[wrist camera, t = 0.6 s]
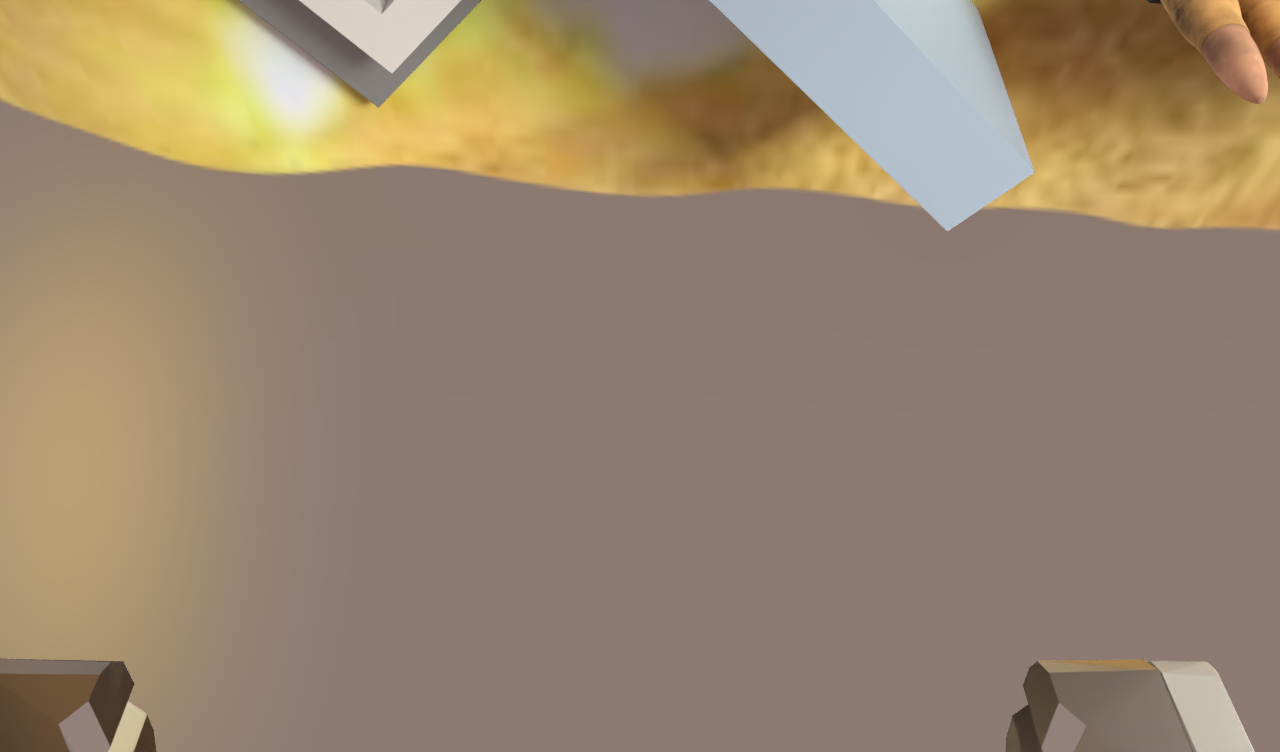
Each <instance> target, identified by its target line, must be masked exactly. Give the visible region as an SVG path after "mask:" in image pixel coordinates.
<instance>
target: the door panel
mask: <svg viewBox="0 0 1280 752" xmlns="http://www.w3.org/2000/svg"><path fill="white" fill-rule="evenodd" d="M709 1H710V2H711V3H712V4H713V5H715V6H716V7H717V8H718V9H719V10H720V11H721V12H722V13H723V14H724V15H725V16H726V17H727V18H728V19H729V20H730V21H731V22H732V23H733V24H734V25H735V26H736V27H737V28H738V29H739V30H740V31H741V32H742V33H743V34H744V35H745V36H746V37H748V38H749V39H750V40H751V41H752V42H753V43H754V44H755V45H756V46H757V47H758V48H759V49H760V50H761V51H762V52H763V53H764V54H765V55H766V56H767V57H768V58H769V59H770V60H771V61H772V62H773V63H774V64H775V65H776V66H777V67H778V68H779V69H781V70H782V71H783V72H784V73H785V74H786V75H787V76H788V77H789V78H790V79H791V80H792V81H793V82H794V83H795V84H796V85H797V86H798V87H799V88H800V89H801V90H802V91H803V92H804V93H805V94H806V95H807V96H808V97H809V98H810V99H811V100H812V101H814V102H815V103H816V104H817V105H818V106H819V107H820V108H821V109H822V110H823V111H824V112H825V113H826V114H827V115H828V116H829V117H830V118H831V119H832V120H833V121H834V122H835V123H836V124H837V125H838V126H839V127H840V128H841V129H842V130H843V131H844V132H845V133H847V134H848V135H849V136H850V137H851V138H852V139H853V140H854V141H855V142H856V143H857V144H858V145H859V146H860V147H861V148H862V149H863V150H864V151H865V152H866V153H867V154H868V155H869V156H870V157H871V158H872V159H873V160H874V161H875V162H876V163H877V164H878V165H880V166H881V167H882V168H883V169H884V170H885V171H886V172H887V173H888V174H889V175H890V176H891V177H892V178H893V179H894V180H895V181H896V182H897V183H898V184H899V185H900V186H901V187H902V188H903V189H904V190H905V191H906V192H907V193H908V194H909V195H910V196H911V197H913V198H914V199H915V200H916V201H917V202H918V203H919V204H920V205H921V206H922V207H923V208H924V209H925V210H926V211H927V212H928V213H929V214H930V215H931V216H932V217H933V218H934V219H936V221H937V222H938V223H939V224H940V225H941V226H942V227H943V228H944V229H946V230H947V231H949V230H950V229H951V228H953V227H954V226H956V225H957V224H959V223H960V222H962V221H964V220H965V219H966V218H968V217H969V216H971V215H972V214H974V213H975V212H977V211H978V210H980V209H981V208H983V207H984V206H986V205H987V204H989V203H990V202H992V201H993V200H995V199H996V198H998V197H999V196H1001V195H1002V194H1004V193H1005V192H1007V191H1008V190H1009V189H1011V188H1012V187H1014V186H1015V185H1017V184H1018V183H1020V182H1021V181H1023V180H1024V179H1026V178H1027V177H1029V176H1030V175H1032V174H1033V173H1035V172H1034V169H1033V166H1032V163H1031V160H1030V157H1029V154H1028V152H1027V149H1026V146H1025V143H1024V140H1023V137H1022V134H1021V131H1020V128H1019V126H1018V123H1017V120H1016V117H1015V114H1014V111H1013V108H1012V105H1011V103H1010V100H1009V97H1008V94H1007V91H1006V88H1005V85H1004V82H1003V79H1002V77H1001V74H1000V71H999V68H998V65H997V62H996V59H995V56H994V54H993V51H992V48H991V45H990V42H989V39H988V36H987V33H986V31H985V28H984V25H983V22H982V19H981V16H980V13H979V10H978V8H977V7H976V5H975V4H974V3H973V2H972V1H971V0H709Z"/></svg>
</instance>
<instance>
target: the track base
mask: <svg viewBox="0 0 1280 752" xmlns="http://www.w3.org/2000/svg"><path fill="white" fill-rule="evenodd" d="M239 1H240V2H242V3H243V4H244V5H246V6H247V7H248V8H249V9H251V10H252V11H253V12H255V13H256V14H257V15H259V16H260V17H261V18H262V19H264V20H265V21H266V22H268V23H269V24H270V25H272V26H273V27H274V28H275V29H277V30H278V31H279V32H281V33H282V34H283V35H285V36H286V37H287V38H289V39H290V40H291V41H292V42H294V43H295V44H296V45H298V46H299V47H300V48H302V49H303V50H304V51H305V52H307V53H308V54H309V55H311V56H312V57H313V58H315V59H316V60H317V61H318V62H320V63H321V64H322V65H324V66H325V67H326V68H328V69H329V70H330V71H332V72H333V73H334V74H335V75H337V76H338V77H339V78H341V79H342V80H343V81H345V82H346V83H347V84H348V85H350V86H351V87H352V88H354V89H355V90H356V91H358V92H359V93H360V94H361V95H363V96H364V97H365V98H367V99H368V100H369V101H371V102H372V103H373V104H374V105H376V106H377V107H378V108H379V107H380V106H381V105H382V104H383V103H384V102H385V100H386V99H387V98H388V97H389V96H390V95H391V94H392V93H393V92H394V91H395V90H396V89H397V88H398V87H399V86H400V85H401V84H402V83H403V82H404V81H405V80H406V78H407V77H408V76H409V75H410V74H411V73H412V72H413V71H414V70H415V69H416V68H417V67H418V66H419V65H420V64H421V63H422V62H423V61H424V60H425V59H426V58H427V57H428V55H429V54H430V53H431V52H432V51H433V50H434V49H435V48H436V47H437V46H438V45H439V44H440V43H441V42H442V41H443V40H444V39H445V38H446V37H447V36H448V35H449V33H450V32H451V31H452V30H453V29H454V28H455V27H456V26H457V25H458V24H459V23H460V22H461V21H462V20H463V19H464V18H465V17H466V16H467V15H468V14H469V13H470V12H471V10H472V9H473V8H474V7H475V6H476V5H477V4H478V3H479V2H480V1H481V0H239Z"/></svg>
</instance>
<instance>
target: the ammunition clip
mask: <svg viewBox="0 0 1280 752" xmlns="http://www.w3.org/2000/svg"><path fill="white" fill-rule="evenodd" d="M1147 1H1148V2H1150V3H1159V4H1163V6H1164V8H1165V9H1166V11H1167V13H1168V14H1169V16H1170V18H1171V19H1172V21H1173V23H1174V24H1175V26H1176V28H1177V29H1178V31H1179V32H1180V33H1181V35H1182V36H1183V37H1184V39H1185V40H1187V41H1188V42H1189V43H1190V44H1192V45H1193V46H1194V47H1195V48H1197V50H1198V51H1199V53H1200V54H1201V55H1202V57H1203V58H1204V59H1205V61H1207V62H1208V64H1209V66H1210V67H1211V69H1212V70H1213V71H1214V73H1215V74H1216V75H1217V77H1218V78H1219V79H1220V80H1221V81H1222V82H1223V83H1224V84H1225V85H1226V86H1227V87H1228V88H1229V89H1230V90H1231V91H1233V92H1234V93H1235V94H1237V95H1238V96H1240V97H1241V98H1243V99H1245V100H1247V101H1249V102H1252V103H1257V104H1260V103H1263V102H1264V101H1265V100H1266V97H1267V93H1268V81H1267V73H1266V68H1265V64H1264V61H1263V59H1264V60H1265V61H1266V62H1267V64H1268V65H1269V66H1270V67H1271V68H1273V70H1274V71H1275V72H1276V74H1277V75H1278V77H1279V78H1280V0H1147ZM1262 57H1263V58H1262Z"/></svg>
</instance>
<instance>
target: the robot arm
mask: <svg viewBox="0 0 1280 752" xmlns="http://www.w3.org/2000/svg"><path fill="white" fill-rule="evenodd" d="M133 686H134V682H133V680H132V678H131V676H130V674H129V672H128V670H127V668H126V666H125V664H124V662H123V661H84V660H83V661H82V660H34V659H6V658H5V659H4V658H2V659H1V658H0V752H156V744H155V737H154V730H153V727H152V725H151V723H150V720H149V717H148V715H147V714H146V713H145V712H143V711H142V710H140V709H139V708H137V707H135V706H134V705H133V704H131V703H130V702H128V699H129V697H130V694H131V692H132V689H133ZM1023 688H1024V691H1025V695H1026V698H1027V702H1028V705H1027V706H1025V707H1024V708H1022V709H1021V710H1019V711H1018V712H1017V713H1015V714H1014V715H1013V716H1012V719H1011V722H1010V726H1009V729H1008V733H1007V737H1006V752H1254V749H1253V747H1252V745H1251V743H1250V741H1249V739H1248V737H1247V735H1246V732H1245V730H1244V728H1243V726H1242V724H1241V722H1240V719H1239V718H1238V715H1237V713H1236V711H1235V709H1234V707H1233V705H1232V703H1231V700H1230V698H1229V696H1228V694H1227V692H1226V690H1225V687H1224V685H1223V683H1222V681H1221V679H1220V677H1219V675H1218V672H1217V671H1216V670H1215V669H1214V668H1213V667H1212V666H1210V664H1209V663H1208V662H1205V661H1149V662H1148V661H1147V662H1146V661H1144V660H1142V659H1141V660H1140V659H1139V660H1069V661H1068V660H1067V661H1037V662H1036V663H1034V664H1033V665H1032V666H1031V667H1030V668H1029V670H1028V672H1027V675H1026V678H1025V681H1024V683H1023Z"/></svg>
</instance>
